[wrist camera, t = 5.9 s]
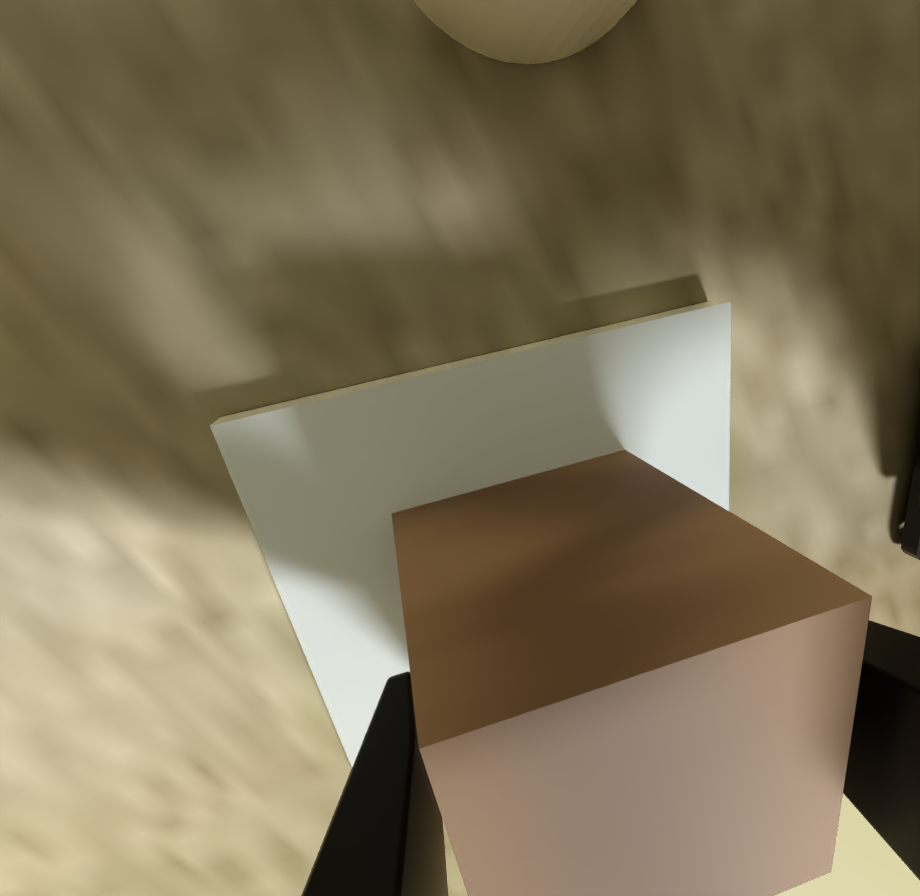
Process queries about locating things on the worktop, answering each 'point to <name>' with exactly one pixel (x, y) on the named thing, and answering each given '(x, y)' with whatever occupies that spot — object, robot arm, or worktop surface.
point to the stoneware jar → (525, 25)
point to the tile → (458, 467)
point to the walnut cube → (626, 687)
